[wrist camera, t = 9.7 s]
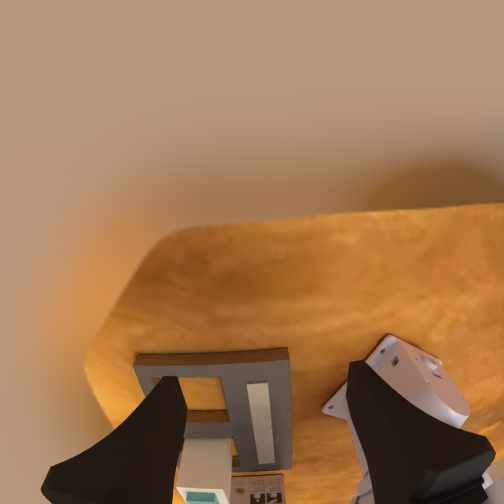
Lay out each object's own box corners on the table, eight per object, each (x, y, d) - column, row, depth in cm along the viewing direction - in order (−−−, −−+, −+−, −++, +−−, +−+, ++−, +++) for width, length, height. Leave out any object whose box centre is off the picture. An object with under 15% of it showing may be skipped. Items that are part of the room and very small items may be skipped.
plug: (186, 429, 27) (174, 496, 19) (226, 429, 27) (222, 498, 19) (195, 451, 28) (186, 512, 21) (232, 451, 28) (229, 514, 20)
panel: (138, 354, 24) (132, 366, 22) (287, 347, 23) (289, 361, 22) (182, 460, 29) (180, 472, 27) (290, 458, 28) (291, 470, 27)
